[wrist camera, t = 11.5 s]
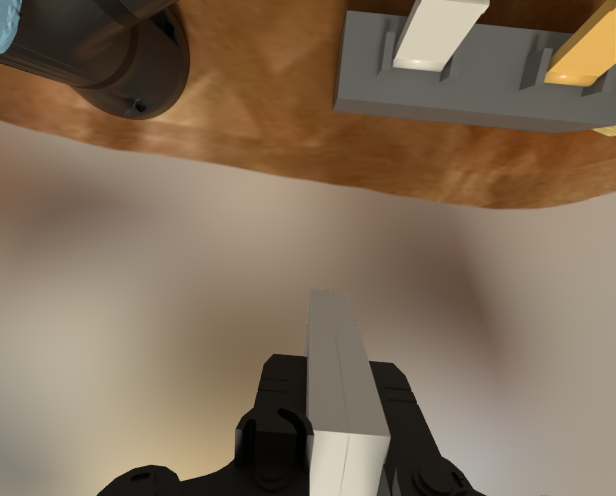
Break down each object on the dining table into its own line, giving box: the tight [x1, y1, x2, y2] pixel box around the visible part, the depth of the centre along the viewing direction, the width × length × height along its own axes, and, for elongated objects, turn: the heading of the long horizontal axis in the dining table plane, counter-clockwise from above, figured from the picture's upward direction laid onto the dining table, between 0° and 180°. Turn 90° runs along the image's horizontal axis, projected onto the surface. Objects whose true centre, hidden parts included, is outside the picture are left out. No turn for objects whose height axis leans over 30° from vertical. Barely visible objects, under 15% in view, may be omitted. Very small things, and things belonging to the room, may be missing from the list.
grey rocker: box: [392, 0, 490, 72], centre depth 27 cm, size 2×5×8 cm, turn 85°
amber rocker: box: [544, 0, 616, 87], centre depth 27 cm, size 2×5×8 cm, turn 85°
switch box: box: [333, 10, 616, 134], centre depth 34 cm, size 30×8×10 cm, turn 85°
